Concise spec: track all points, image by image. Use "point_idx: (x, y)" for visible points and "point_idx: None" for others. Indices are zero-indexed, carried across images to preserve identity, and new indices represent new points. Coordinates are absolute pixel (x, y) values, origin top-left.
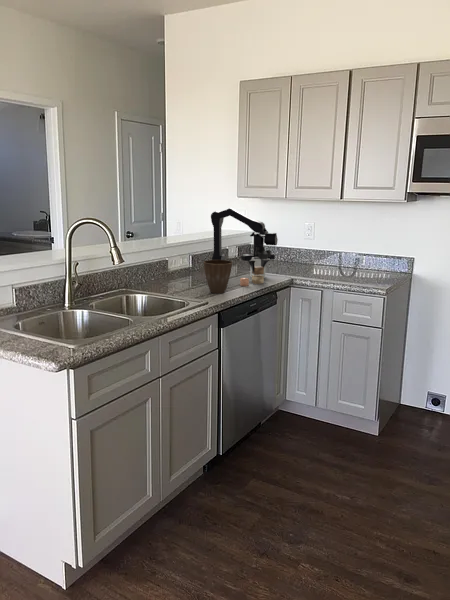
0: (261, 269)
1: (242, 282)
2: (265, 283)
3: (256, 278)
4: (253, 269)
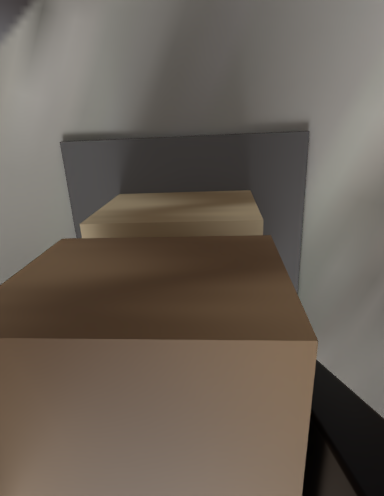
0: (73, 292)
1: None
2: (96, 167)
3: (240, 211)
4: (330, 376)
